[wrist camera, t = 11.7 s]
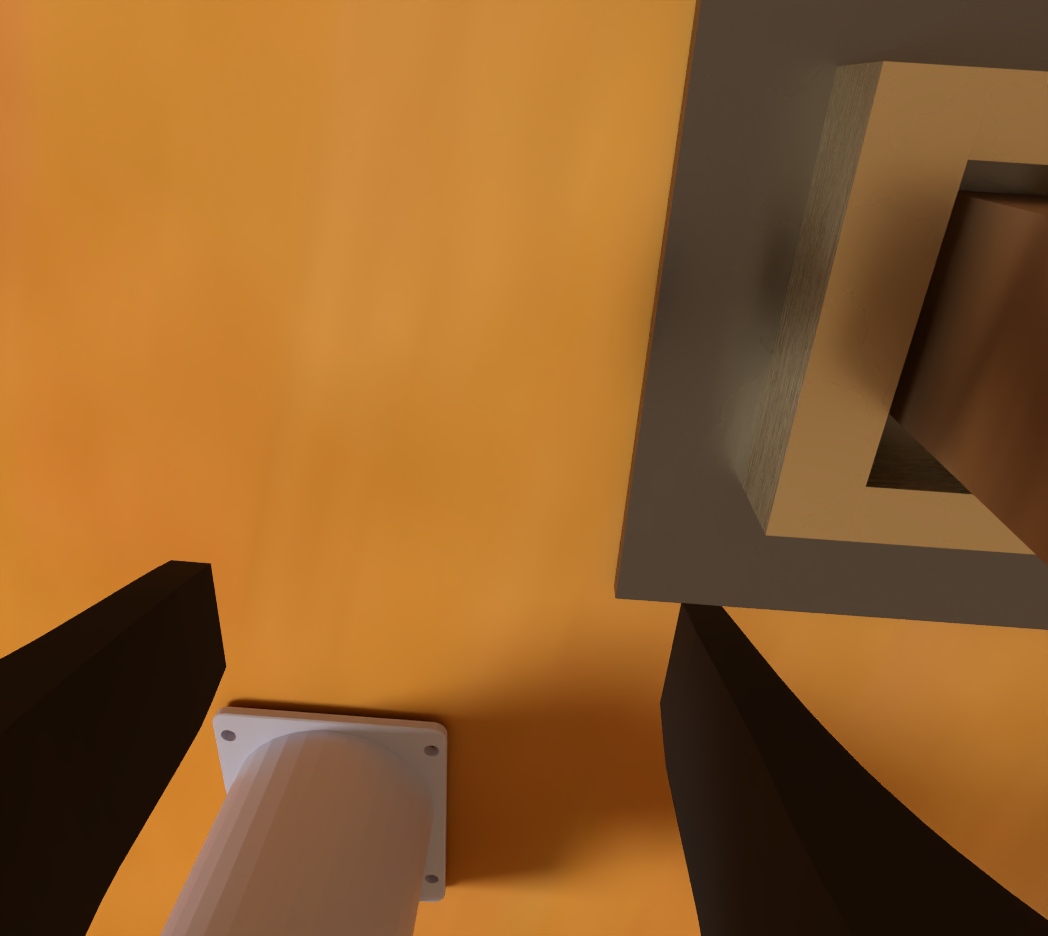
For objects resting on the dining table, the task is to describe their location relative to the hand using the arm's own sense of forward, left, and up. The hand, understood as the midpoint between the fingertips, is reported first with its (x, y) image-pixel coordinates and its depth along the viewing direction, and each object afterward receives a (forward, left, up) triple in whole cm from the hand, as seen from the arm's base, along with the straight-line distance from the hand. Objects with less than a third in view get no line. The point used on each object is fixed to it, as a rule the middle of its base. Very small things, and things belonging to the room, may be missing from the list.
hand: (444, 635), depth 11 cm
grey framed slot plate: (+3, -11, -9) cm, 15 cm away
